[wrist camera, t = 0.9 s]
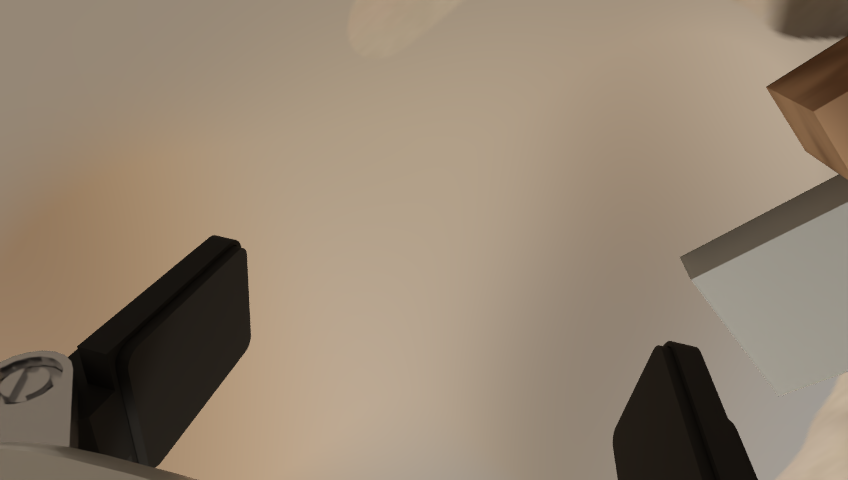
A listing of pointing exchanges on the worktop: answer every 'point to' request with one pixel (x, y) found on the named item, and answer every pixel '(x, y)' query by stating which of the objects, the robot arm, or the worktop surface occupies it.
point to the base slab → (784, 286)
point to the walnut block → (818, 105)
